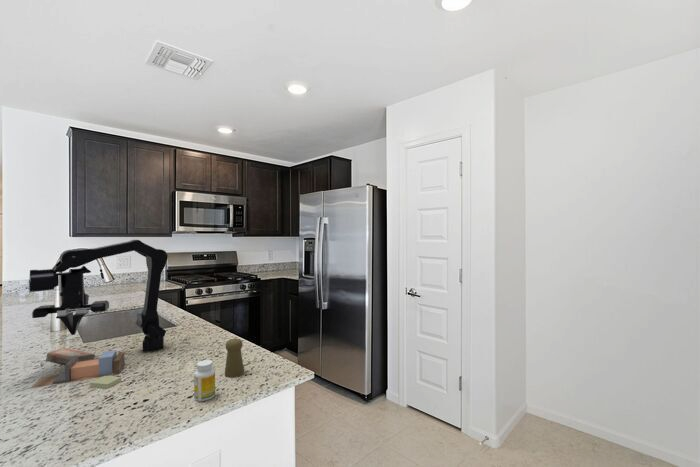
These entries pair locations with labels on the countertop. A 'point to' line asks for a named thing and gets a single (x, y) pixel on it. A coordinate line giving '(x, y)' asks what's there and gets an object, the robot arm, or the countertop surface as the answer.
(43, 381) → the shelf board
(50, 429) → the countertop surface
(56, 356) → the packaged product
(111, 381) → the olive book
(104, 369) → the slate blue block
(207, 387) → the supplement bottle
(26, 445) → the countertop surface
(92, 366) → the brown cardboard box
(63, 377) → the bookend
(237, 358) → the cork
